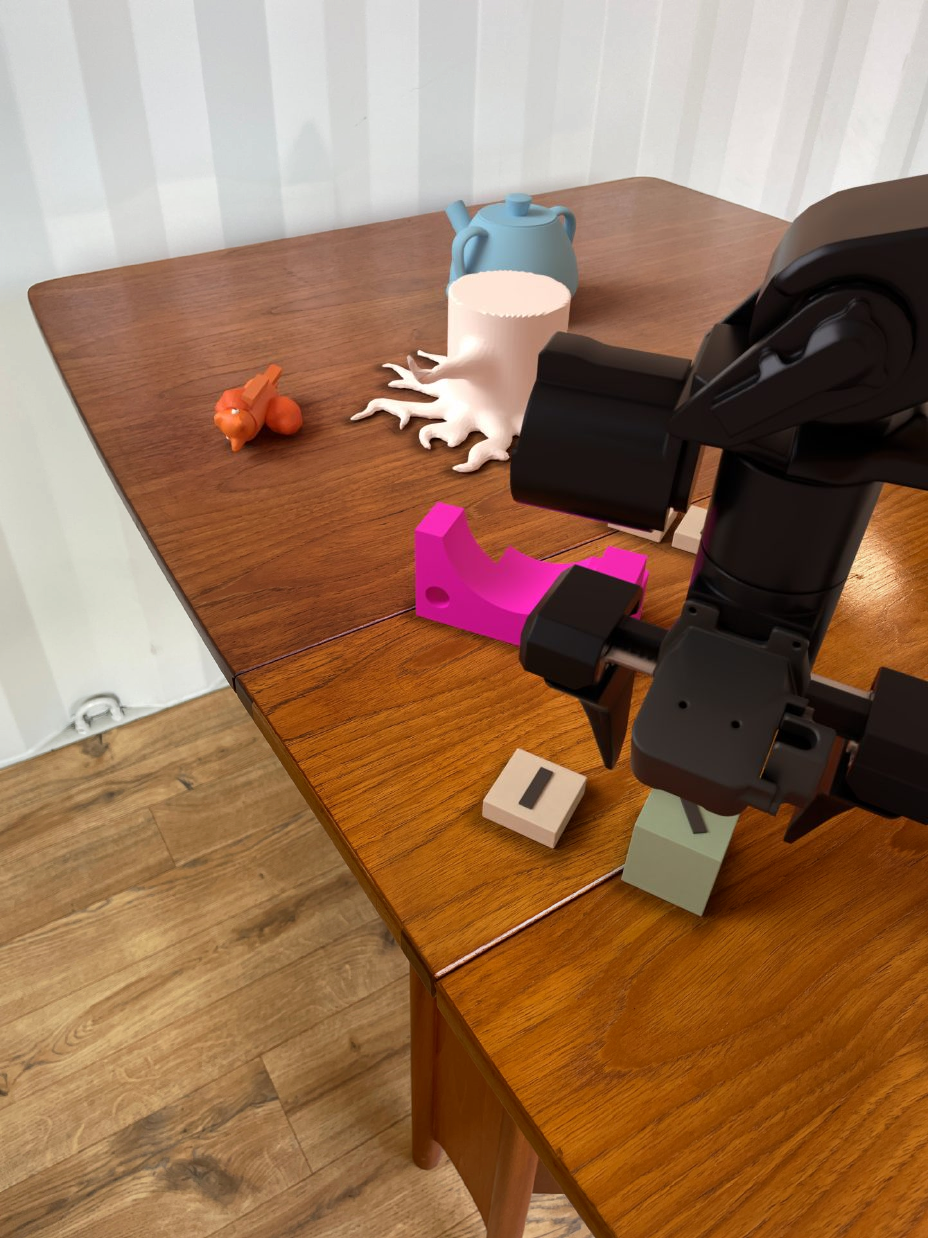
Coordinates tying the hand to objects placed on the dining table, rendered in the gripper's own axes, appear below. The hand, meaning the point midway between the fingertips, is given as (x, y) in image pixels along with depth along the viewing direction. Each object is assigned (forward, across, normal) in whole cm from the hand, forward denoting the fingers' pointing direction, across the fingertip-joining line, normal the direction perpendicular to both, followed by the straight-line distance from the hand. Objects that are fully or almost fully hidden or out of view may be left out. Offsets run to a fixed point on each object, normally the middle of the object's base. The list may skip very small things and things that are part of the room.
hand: (697, 798), depth 45 cm
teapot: (+6, -45, +68) cm, 82 cm away
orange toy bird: (+6, -49, +27) cm, 56 cm away
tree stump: (+6, -33, +43) cm, 55 cm away
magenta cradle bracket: (+6, -16, +15) cm, 23 cm away
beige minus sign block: (+6, -9, 0) cm, 10 cm away
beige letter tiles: (+6, -10, +31) cm, 33 cm away
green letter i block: (+6, 0, 0) cm, 6 cm away
